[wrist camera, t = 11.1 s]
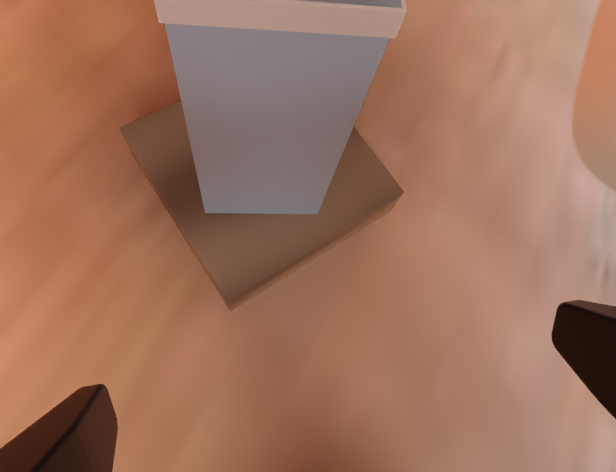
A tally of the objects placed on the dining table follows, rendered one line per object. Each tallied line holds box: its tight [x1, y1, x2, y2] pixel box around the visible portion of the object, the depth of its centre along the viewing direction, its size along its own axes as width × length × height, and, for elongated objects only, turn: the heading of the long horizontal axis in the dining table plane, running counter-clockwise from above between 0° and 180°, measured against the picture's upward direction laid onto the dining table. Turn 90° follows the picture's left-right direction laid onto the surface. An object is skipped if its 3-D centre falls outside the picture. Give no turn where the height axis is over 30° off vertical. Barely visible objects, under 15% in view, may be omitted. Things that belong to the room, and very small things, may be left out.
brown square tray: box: [120, 100, 404, 311], centre depth 24 cm, size 10×10×3 cm
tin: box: [154, 0, 407, 214], centre depth 17 cm, size 5×5×12 cm
